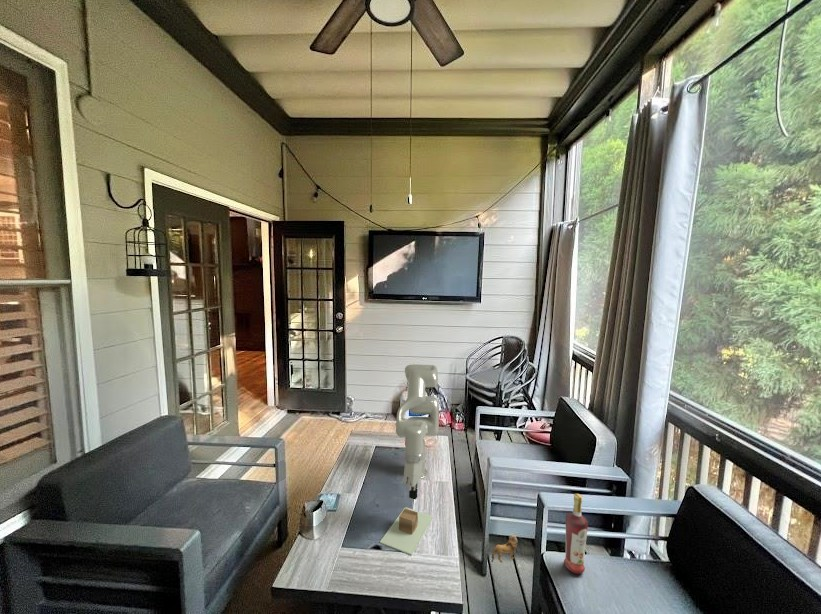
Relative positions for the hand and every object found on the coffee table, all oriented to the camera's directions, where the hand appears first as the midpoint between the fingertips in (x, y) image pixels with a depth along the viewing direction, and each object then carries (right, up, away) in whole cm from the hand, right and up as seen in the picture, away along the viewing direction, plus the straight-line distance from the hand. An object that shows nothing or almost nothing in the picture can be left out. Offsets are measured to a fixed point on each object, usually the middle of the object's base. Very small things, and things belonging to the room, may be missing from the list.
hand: (413, 497), depth 145 cm
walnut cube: (-1, -8, 0) cm, 8 cm away
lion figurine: (+34, -14, -17) cm, 41 cm away
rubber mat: (-2, -12, -3) cm, 12 cm away
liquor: (+59, -14, -21) cm, 64 cm away
